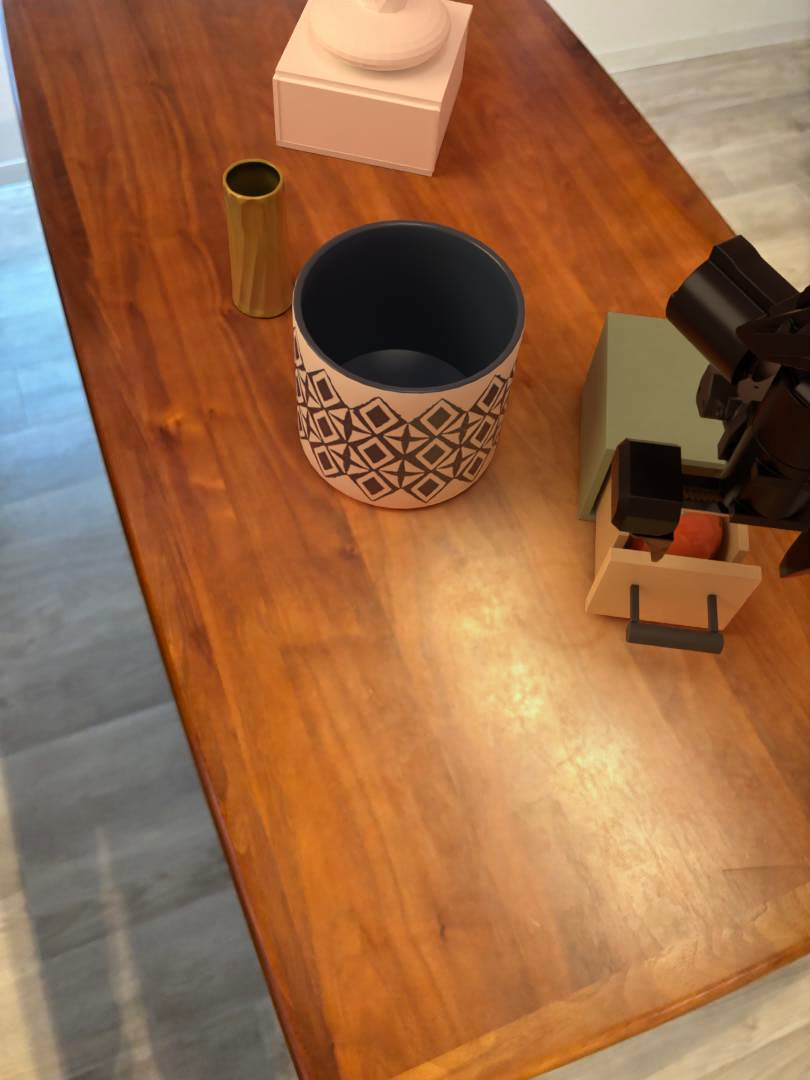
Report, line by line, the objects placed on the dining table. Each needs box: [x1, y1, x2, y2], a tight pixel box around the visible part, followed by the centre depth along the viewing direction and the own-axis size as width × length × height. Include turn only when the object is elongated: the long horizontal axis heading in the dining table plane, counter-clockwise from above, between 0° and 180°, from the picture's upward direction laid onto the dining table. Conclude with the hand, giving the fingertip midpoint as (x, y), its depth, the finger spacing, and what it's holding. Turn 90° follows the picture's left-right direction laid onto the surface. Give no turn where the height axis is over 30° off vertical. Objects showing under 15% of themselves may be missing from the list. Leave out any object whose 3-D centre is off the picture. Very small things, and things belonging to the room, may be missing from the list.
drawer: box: [584, 461, 763, 655], centre depth 81 cm, size 18×11×9 cm, turn 174°
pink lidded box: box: [271, 0, 474, 178], centre depth 107 cm, size 18×18×16 cm
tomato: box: [629, 511, 723, 560], centre depth 80 cm, size 7×7×8 cm
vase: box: [222, 158, 295, 319], centre depth 93 cm, size 6×6×14 cm
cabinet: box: [577, 311, 726, 522], centre depth 87 cm, size 15×13×11 cm
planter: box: [291, 219, 527, 509], centre depth 85 cm, size 18×18×16 cm
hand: (717, 564), depth 72 cm, fingers open, 9 cm apart
